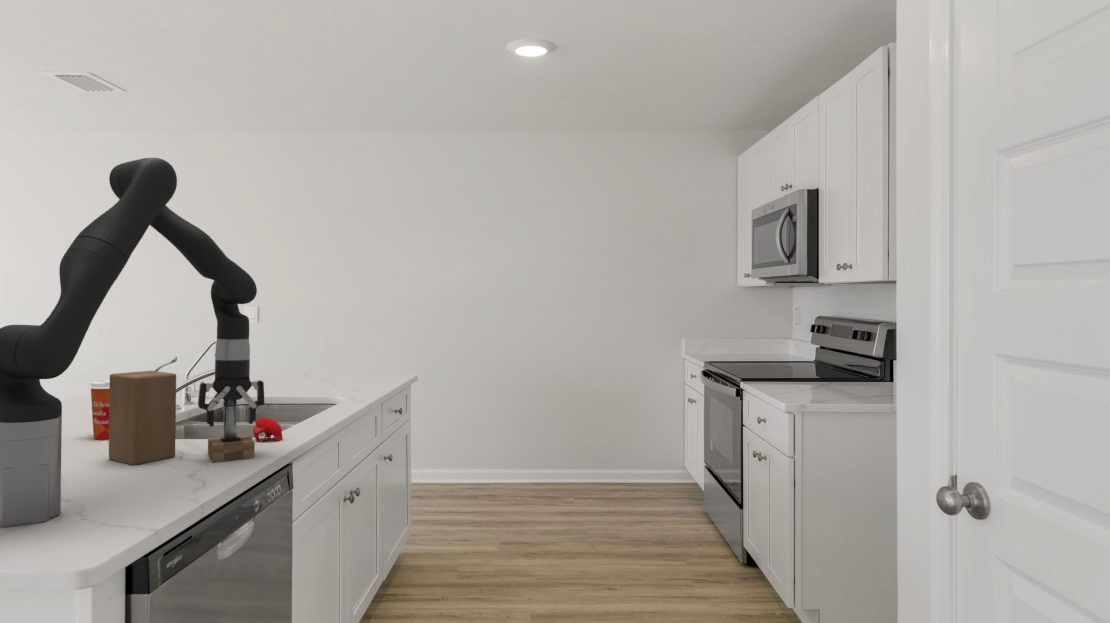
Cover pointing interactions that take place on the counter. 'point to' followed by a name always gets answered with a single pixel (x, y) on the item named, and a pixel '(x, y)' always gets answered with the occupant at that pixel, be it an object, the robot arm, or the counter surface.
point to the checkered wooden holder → (231, 448)
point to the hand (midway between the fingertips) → (231, 424)
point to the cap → (267, 428)
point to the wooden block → (142, 416)
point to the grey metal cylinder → (230, 420)
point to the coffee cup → (100, 408)
